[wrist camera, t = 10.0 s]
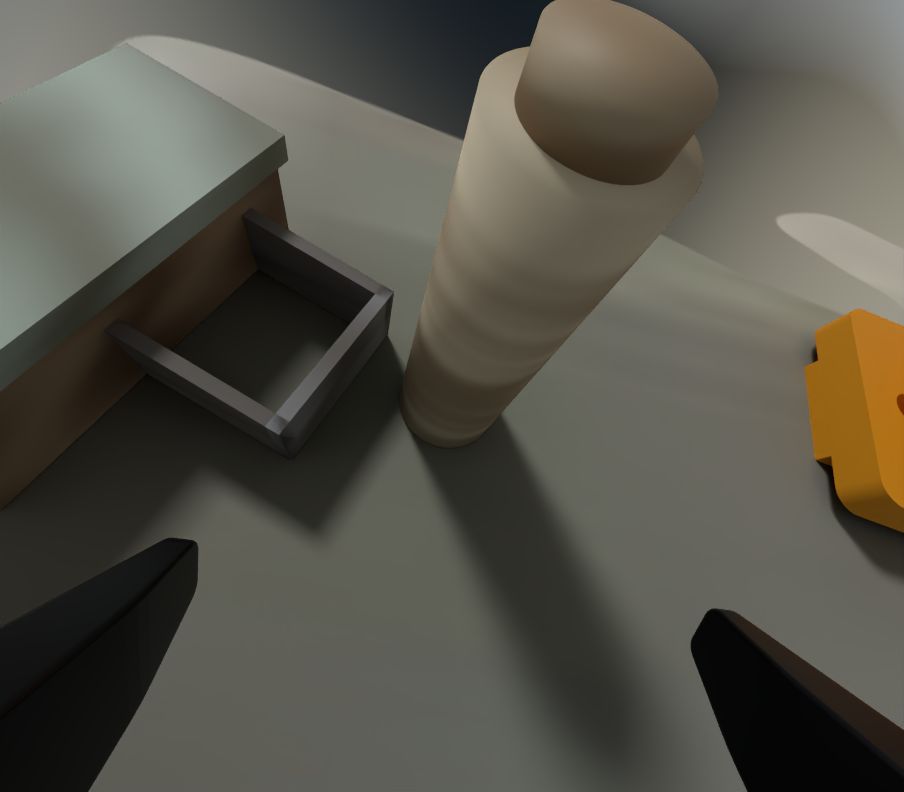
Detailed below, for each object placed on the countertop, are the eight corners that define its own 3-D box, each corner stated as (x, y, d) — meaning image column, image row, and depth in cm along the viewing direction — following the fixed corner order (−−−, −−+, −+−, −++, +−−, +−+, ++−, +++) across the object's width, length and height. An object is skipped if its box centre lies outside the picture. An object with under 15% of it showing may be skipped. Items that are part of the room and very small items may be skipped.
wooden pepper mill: (466, 466, 17) (730, 202, 5) (380, 415, 17) (444, 39, 5) (507, 390, 18) (771, 65, 7) (429, 344, 19) (559, -54, 7)
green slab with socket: (164, 626, 13) (63, 651, 8) (-181, 414, 13) (-467, 324, 8) (410, 303, 19) (429, 219, 15) (178, 166, 19) (126, 43, 15)
